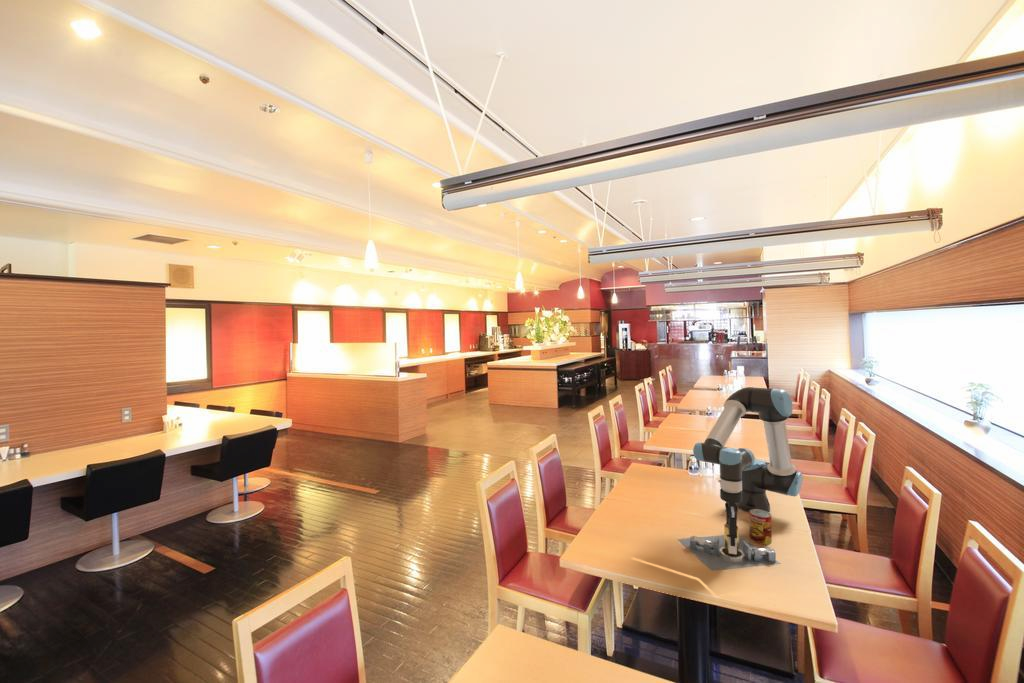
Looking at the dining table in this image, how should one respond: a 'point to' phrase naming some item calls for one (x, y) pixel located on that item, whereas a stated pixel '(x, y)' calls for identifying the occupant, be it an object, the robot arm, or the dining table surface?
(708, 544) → the shaft
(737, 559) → the socket
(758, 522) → the canned food
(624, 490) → the dining table surface
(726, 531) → the cylinder
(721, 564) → the base board
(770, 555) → the shaft
